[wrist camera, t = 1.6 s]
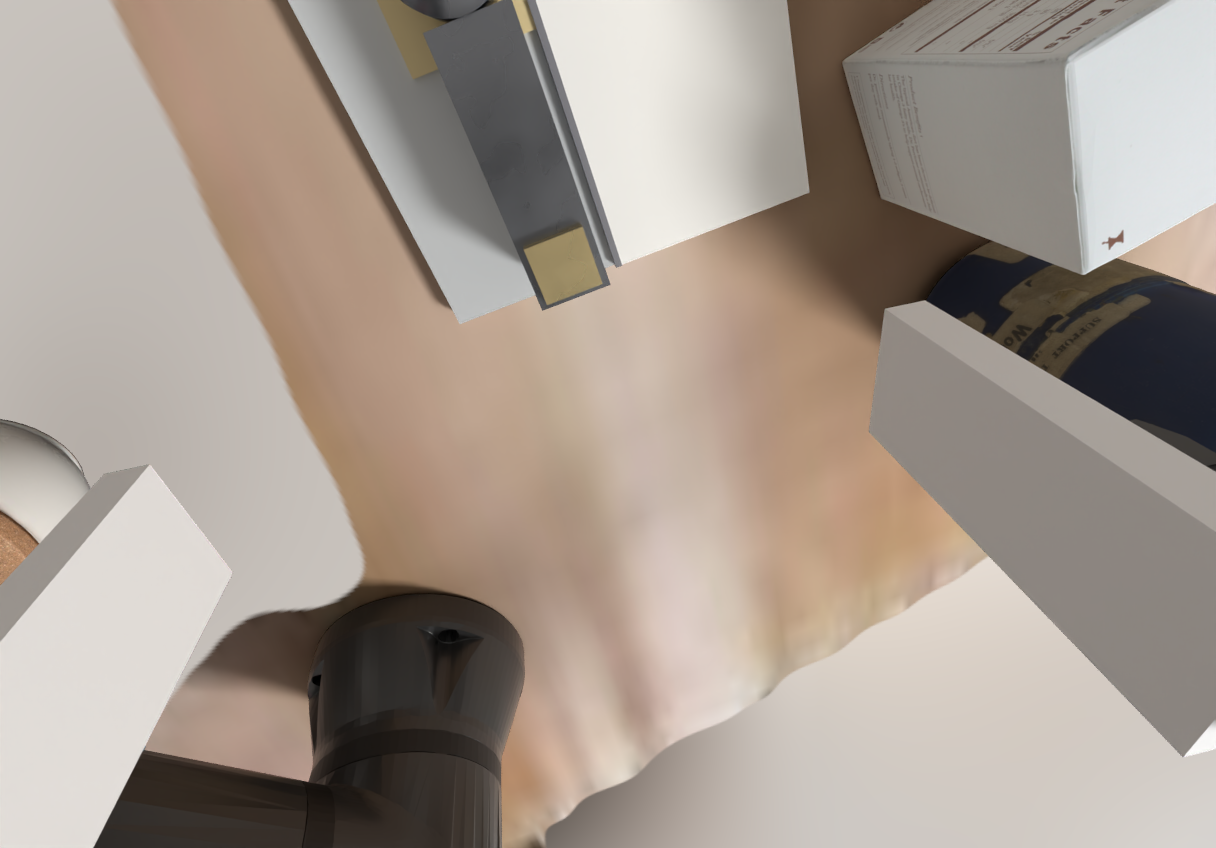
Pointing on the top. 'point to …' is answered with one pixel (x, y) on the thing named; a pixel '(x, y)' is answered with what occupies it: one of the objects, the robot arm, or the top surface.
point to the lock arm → (515, 143)
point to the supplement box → (1045, 120)
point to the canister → (1097, 332)
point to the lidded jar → (33, 490)
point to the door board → (578, 125)
